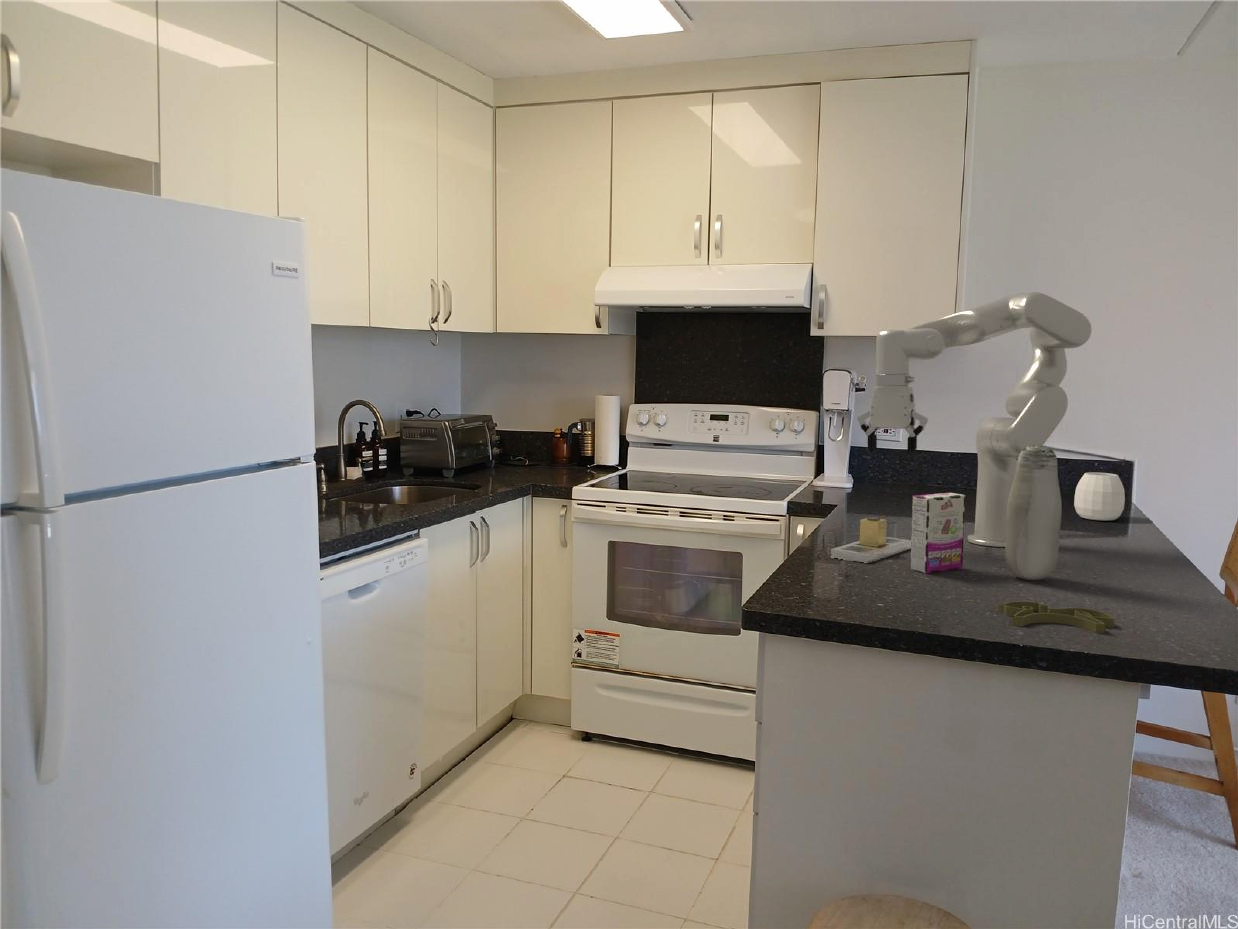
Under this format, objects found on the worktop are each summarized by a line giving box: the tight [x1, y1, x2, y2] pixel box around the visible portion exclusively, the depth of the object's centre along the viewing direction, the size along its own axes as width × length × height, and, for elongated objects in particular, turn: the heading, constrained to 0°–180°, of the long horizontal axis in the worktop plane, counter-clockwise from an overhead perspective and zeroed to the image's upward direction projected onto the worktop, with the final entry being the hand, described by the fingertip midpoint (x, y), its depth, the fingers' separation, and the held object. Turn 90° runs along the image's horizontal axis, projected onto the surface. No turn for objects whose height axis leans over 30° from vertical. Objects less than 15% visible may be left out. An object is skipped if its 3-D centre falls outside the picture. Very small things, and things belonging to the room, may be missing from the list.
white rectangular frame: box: [830, 536, 911, 564], centre depth 215 cm, size 9×24×2 cm, turn 140°
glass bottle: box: [1004, 445, 1063, 581], centre depth 189 cm, size 10×10×28 cm
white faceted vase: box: [1073, 471, 1126, 522], centre depth 270 cm, size 13×13×14 cm
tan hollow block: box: [858, 516, 888, 548], centre depth 215 cm, size 4×4×8 cm
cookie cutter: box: [996, 600, 1115, 634], centre depth 159 cm, size 18×12×2 cm, turn 72°
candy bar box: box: [909, 492, 966, 575], centre depth 198 cm, size 11×5×16 cm, turn 117°
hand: (891, 452), depth 223 cm, fingers open, 9 cm apart
